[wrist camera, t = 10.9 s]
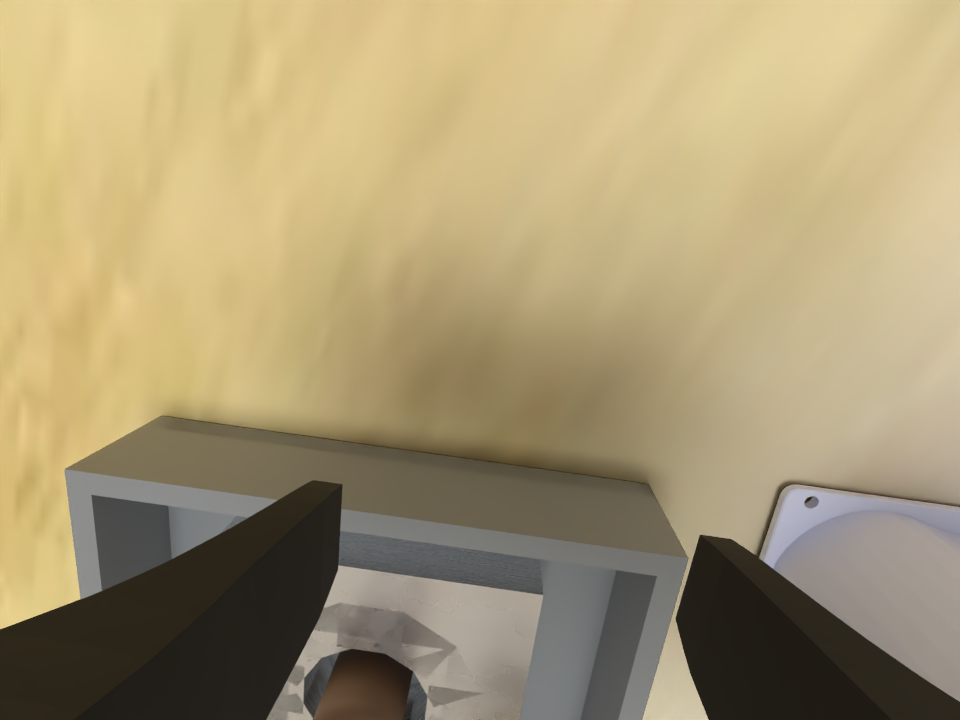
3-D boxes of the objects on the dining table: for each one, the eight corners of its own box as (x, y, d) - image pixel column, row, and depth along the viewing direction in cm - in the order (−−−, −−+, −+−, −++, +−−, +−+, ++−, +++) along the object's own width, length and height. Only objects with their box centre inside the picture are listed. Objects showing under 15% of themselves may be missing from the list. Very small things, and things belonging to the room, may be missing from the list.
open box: (648, 484, 19) (688, 558, 15) (570, 799, 24) (583, 924, 20) (161, 415, 20) (64, 469, 16) (181, 740, 25) (112, 849, 20)
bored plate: (538, 549, 19) (543, 595, 17) (498, 766, 23) (497, 830, 20) (244, 507, 20) (208, 546, 17) (247, 727, 23) (216, 786, 21)
